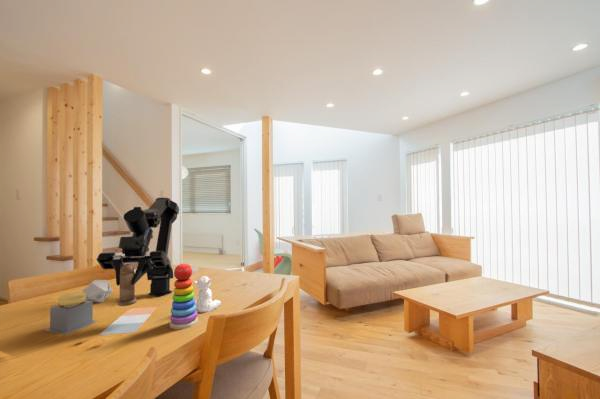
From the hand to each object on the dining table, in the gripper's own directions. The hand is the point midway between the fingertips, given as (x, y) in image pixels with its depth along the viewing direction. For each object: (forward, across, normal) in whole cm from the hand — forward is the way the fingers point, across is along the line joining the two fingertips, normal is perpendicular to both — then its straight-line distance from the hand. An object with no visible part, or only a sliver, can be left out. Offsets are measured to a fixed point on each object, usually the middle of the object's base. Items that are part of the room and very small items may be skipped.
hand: (125, 284), depth 81 cm
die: (-10, -21, +29) cm, 37 cm away
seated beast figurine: (+2, +21, +17) cm, 27 cm away
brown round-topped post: (+3, 0, +5) cm, 6 cm away
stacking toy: (+10, +17, +8) cm, 21 cm away
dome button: (+5, -16, +10) cm, 19 cm away
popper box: (+7, -16, +11) cm, 21 cm away
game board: (+6, 0, +12) cm, 14 cm away
